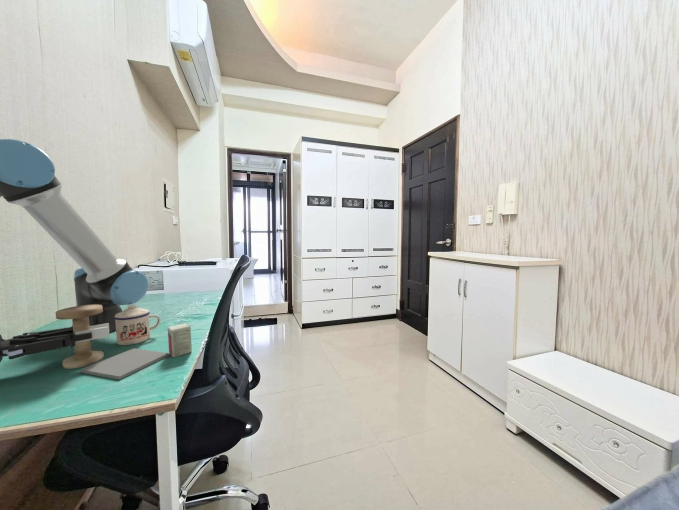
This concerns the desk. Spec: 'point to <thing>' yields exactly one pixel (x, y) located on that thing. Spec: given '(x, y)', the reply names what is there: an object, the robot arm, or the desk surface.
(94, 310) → the stool
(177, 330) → the small box
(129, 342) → the teacup with lid
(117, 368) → the mat
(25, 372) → the desk surface
